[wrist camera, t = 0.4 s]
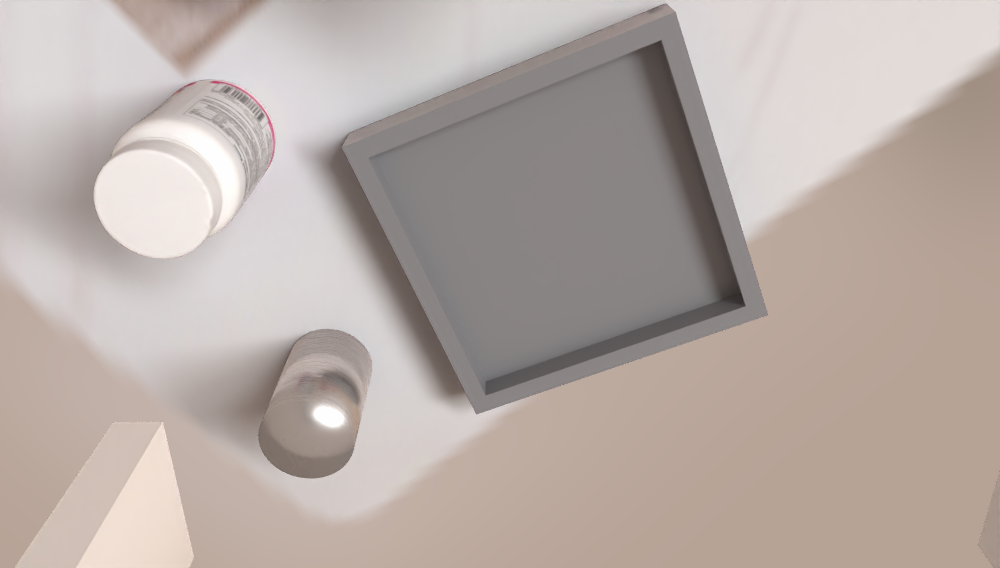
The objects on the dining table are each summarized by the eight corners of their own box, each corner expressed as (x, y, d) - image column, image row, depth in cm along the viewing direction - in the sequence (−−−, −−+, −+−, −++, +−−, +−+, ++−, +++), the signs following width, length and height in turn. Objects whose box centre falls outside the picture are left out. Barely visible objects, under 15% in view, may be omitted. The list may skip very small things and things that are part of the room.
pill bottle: (184, 193, 38) (106, 278, 30) (149, 85, 36) (57, 147, 28) (290, 179, 38) (239, 260, 30) (262, 69, 36) (199, 128, 28)
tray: (349, 132, 37) (341, 147, 35) (666, 3, 34) (675, 11, 33) (477, 390, 42) (476, 414, 41) (755, 294, 40) (767, 314, 38)
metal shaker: (273, 345, 41) (240, 419, 36) (349, 317, 41) (327, 387, 35) (312, 410, 43) (287, 489, 38) (385, 384, 42) (370, 461, 37)
